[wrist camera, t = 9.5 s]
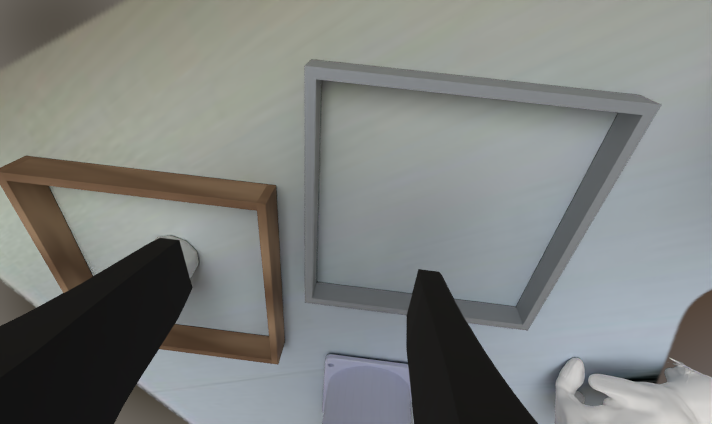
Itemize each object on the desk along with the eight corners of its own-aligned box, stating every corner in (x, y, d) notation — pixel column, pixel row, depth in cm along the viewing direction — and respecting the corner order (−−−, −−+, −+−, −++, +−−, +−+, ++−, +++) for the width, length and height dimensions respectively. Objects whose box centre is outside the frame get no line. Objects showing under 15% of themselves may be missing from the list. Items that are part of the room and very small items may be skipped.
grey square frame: (520, 312, 24) (527, 330, 22) (309, 286, 24) (304, 302, 23) (639, 94, 15) (661, 104, 14) (311, 59, 16) (304, 65, 14)
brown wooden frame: (284, 342, 28) (278, 364, 26) (108, 319, 28) (91, 340, 27) (276, 185, 20) (265, 204, 18) (25, 155, 20) (-8, 171, 18)
